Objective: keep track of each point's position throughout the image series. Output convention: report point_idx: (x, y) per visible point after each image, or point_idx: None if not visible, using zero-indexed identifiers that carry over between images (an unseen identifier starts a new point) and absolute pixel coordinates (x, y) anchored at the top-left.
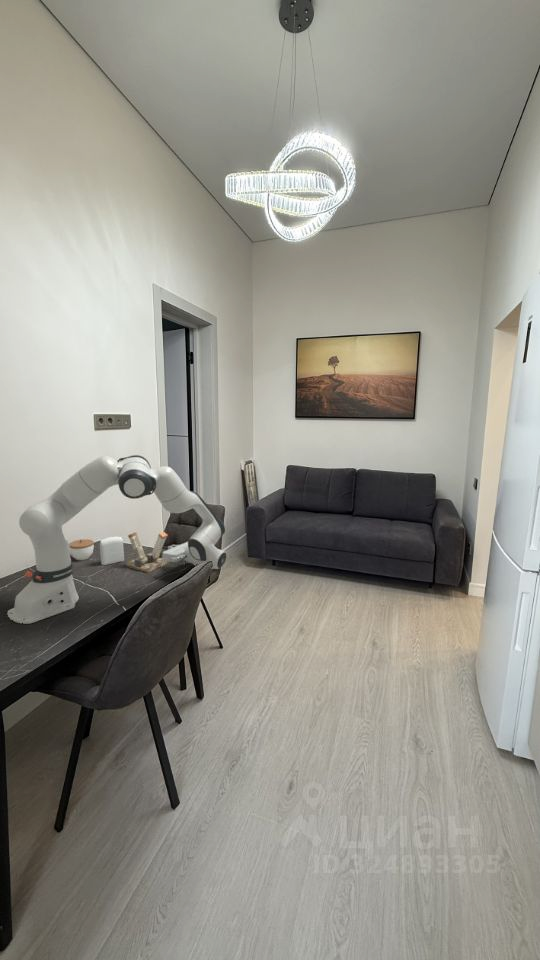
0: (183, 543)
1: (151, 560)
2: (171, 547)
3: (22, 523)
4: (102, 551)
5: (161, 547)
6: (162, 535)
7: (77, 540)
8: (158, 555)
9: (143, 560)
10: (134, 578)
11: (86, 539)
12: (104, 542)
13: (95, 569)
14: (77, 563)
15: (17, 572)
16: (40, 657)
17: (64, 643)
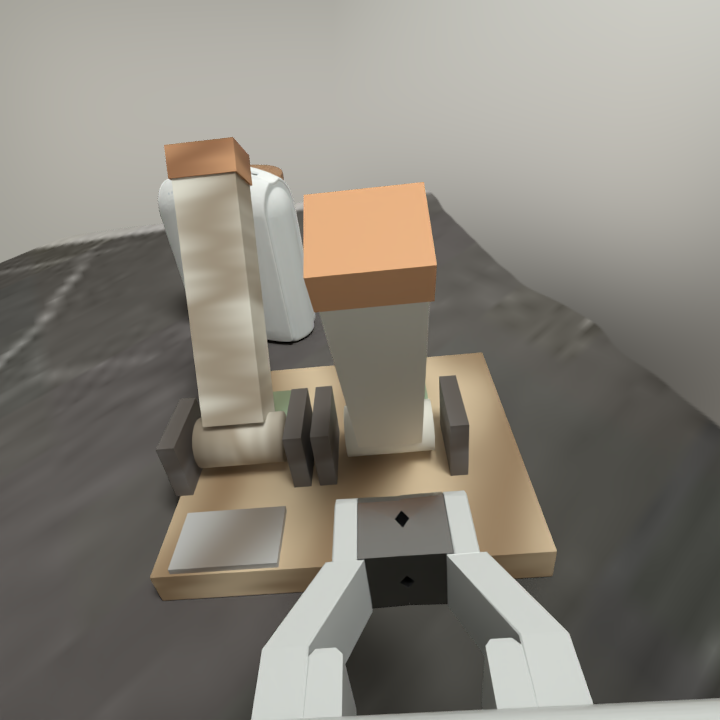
0: (677, 718)
1: (317, 467)
2: (303, 601)
3: None
4: (172, 248)
5: (408, 396)
6: (325, 247)
7: None
8: (414, 443)
9: (223, 445)
10: (7, 606)
11: (273, 167)
12: (167, 192)
13: (139, 339)
14: None
15: (61, 246)
16: None
17: None
